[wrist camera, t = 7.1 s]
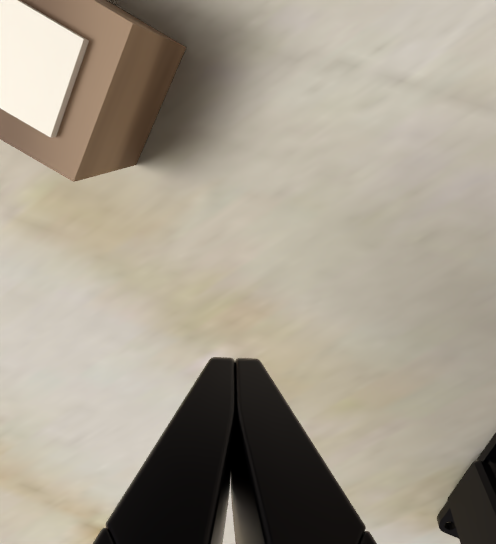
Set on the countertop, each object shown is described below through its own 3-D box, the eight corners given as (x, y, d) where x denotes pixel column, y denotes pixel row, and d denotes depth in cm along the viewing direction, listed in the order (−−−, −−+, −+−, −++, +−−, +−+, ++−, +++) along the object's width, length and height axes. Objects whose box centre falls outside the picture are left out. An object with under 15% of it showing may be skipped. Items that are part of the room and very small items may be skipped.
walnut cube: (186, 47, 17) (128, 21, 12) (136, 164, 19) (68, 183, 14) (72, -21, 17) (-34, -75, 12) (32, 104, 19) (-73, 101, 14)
